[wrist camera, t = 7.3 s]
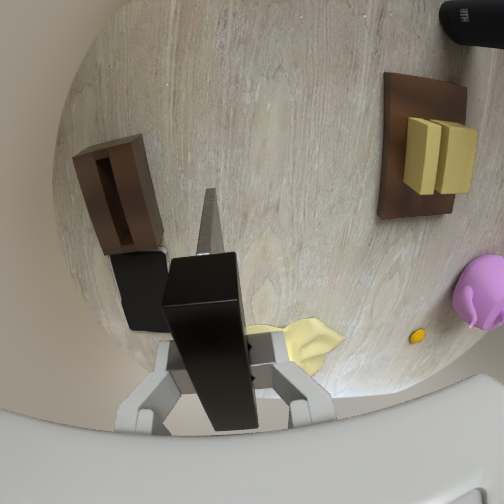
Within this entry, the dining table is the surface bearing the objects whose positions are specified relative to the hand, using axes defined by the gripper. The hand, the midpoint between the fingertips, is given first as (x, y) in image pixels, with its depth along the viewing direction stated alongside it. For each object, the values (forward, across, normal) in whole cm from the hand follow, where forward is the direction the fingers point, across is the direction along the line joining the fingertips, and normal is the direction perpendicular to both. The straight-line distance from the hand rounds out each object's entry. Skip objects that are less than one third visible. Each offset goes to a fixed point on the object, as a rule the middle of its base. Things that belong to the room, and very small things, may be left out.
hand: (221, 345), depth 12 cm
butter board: (+23, -24, -2) cm, 34 cm away
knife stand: (+23, +12, +1) cm, 26 cm away
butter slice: (+22, -22, -2) cm, 31 cm away
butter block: (+22, -27, -2) cm, 34 cm away
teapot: (+24, -43, +22) cm, 54 cm away
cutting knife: (+6, 0, 0) cm, 6 cm away
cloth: (+24, -5, +32) cm, 40 cm away
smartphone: (+23, +13, +16) cm, 31 cm away
